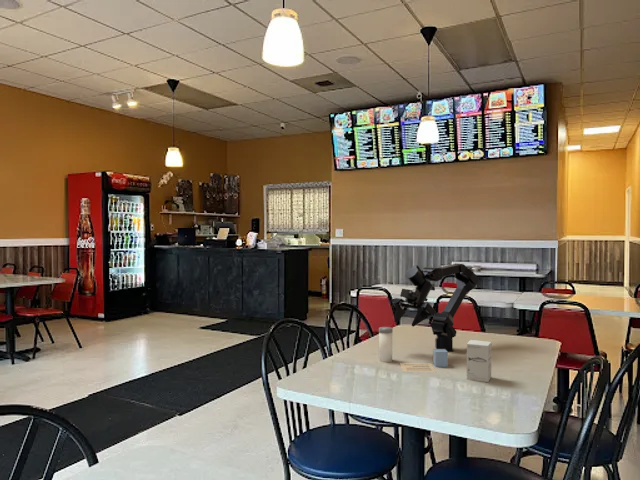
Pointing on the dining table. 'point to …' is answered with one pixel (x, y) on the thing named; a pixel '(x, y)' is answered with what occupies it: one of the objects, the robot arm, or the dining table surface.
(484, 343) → the supplement box
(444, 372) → the dining table surface
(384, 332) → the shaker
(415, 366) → the letter card
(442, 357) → the blue block
